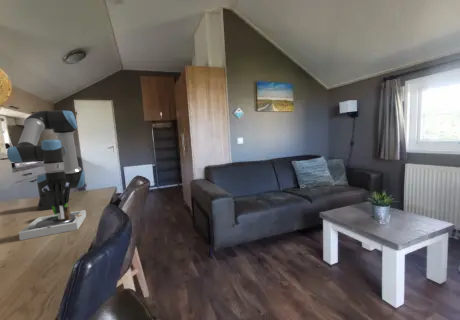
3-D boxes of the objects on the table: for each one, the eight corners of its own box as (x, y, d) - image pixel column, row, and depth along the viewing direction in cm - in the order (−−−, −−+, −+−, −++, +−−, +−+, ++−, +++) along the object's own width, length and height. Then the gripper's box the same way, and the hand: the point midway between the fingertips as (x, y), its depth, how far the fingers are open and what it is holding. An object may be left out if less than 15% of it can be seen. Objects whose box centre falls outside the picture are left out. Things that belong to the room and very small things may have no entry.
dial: (27, 230, 107) (24, 213, 106) (55, 217, 123) (53, 203, 122) (57, 229, 106) (55, 212, 105) (82, 217, 122) (80, 202, 121)
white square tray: (38, 223, 120) (37, 216, 120) (86, 215, 129) (85, 209, 129) (19, 240, 100) (18, 232, 100) (77, 229, 109) (76, 221, 108)
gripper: (44, 173, 101) (51, 224, 103) (73, 169, 113) (79, 214, 115) (34, 173, 104) (41, 222, 106) (64, 169, 116) (69, 213, 118)
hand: (61, 218), depth 110 cm, fingers closed
